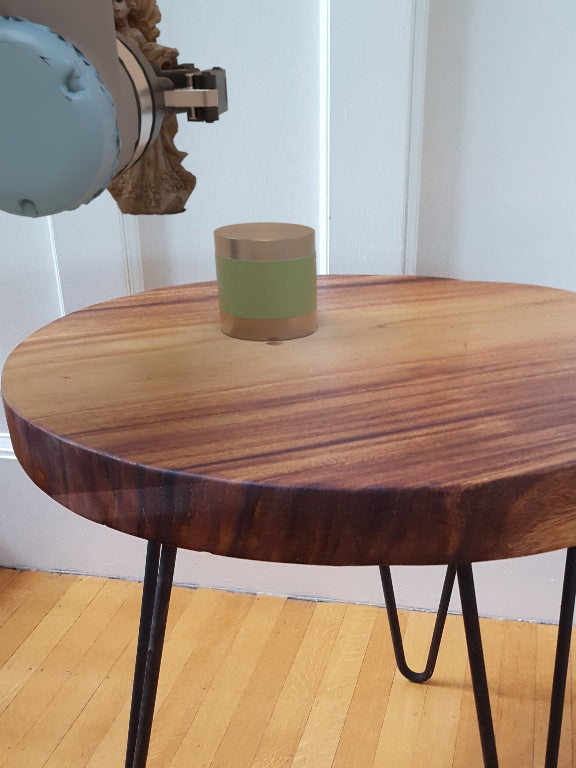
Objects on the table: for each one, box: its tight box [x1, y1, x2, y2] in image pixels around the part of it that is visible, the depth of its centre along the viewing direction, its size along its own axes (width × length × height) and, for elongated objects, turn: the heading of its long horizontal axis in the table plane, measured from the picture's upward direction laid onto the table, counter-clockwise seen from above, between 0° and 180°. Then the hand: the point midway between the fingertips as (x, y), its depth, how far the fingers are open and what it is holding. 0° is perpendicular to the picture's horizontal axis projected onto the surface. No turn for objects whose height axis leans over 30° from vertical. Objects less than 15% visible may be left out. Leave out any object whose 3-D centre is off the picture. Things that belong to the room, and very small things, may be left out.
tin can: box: [213, 221, 318, 342], centre depth 93 cm, size 10×10×9 cm
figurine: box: [105, 0, 197, 216], centre depth 68 cm, size 7×6×15 cm
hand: (146, 84), depth 72 cm, fingers closed on figurine, 6 cm apart
